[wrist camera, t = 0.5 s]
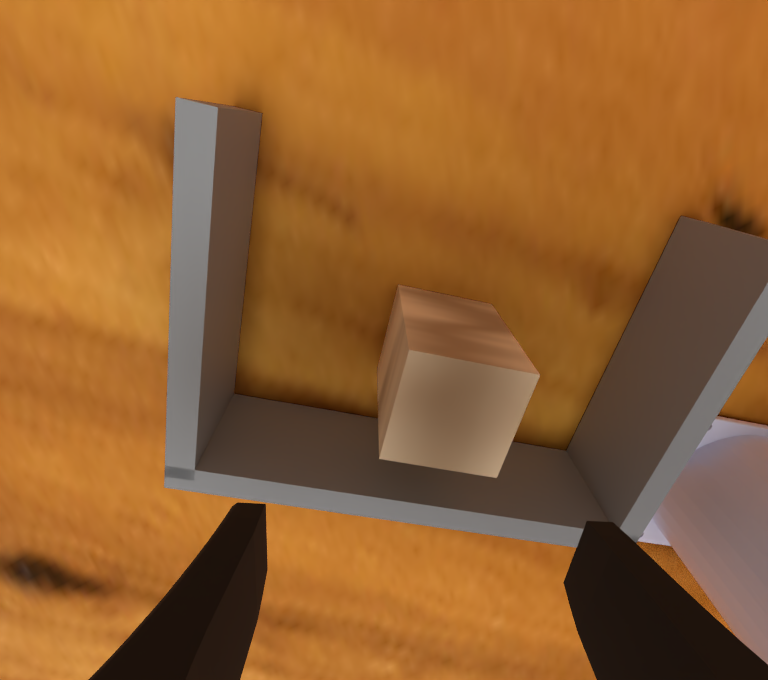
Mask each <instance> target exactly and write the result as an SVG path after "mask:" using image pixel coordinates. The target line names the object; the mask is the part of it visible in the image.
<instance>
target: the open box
mask: <svg viewBox="0 0 768 680" xmlns="http://www.w3.org/2000/svg"><path fill="white" fill-rule="evenodd" d="M261 122H262V113H259V112H255V111H251V110H247V109H243V108H239V107H234V106H229V105H223V104H216V103H210V102H204V101H197V100H191V99H185V98H178V97H176V104H175V139H174V173H173V208H172V242H171V276H170V311H169V345H168V380H167V414H166V449H165V483H164V487H165V488H171V489H178V490H185V491H192V492H199V493H206V494H213V495H219V496H226V497H233V498H240V499H247V500H254V501H261V502H268V503H274V504H281V505H288V506H295V507H302V508H309V509H316V510H322V511H329V512H336V513H343V514H350V515H357V516H364V517H371V518H377V519H384V520H391V521H398V522H405V523H412V524H419V525H425V526H432V527H439V528H446V529H453V530H460V531H467V532H474V533H480V534H487V535H494V536H501V537H508V538H515V539H522V540H528V541H535V542H542V543H549V544H556V545H563V546H570V547H577V546H578V543H579V540H580V538H581V535H582V532H583V530H584V527H585V524H586V522H587V521H602V522H613V523H615V524H616V525H617V526H618V527H619V528H620V529H621V530H622V531H623V532H624V533H626V534H627V535H628V536H629V537H630V538H631V539H632V540H633V541H634V542H635V543H637V541H638V540H639V538H640V536H641V535H642V533H643V532H644V530H645V529H646V527H647V525H648V524H649V522H650V521H651V519H652V517H653V516H654V514H655V513H656V511H657V510H658V508H659V506H660V505H661V503H662V502H663V500H664V499H665V497H666V495H667V494H668V492H669V491H670V489H671V488H672V486H673V484H674V483H675V481H676V480H677V478H678V477H679V475H680V473H681V472H682V470H683V469H684V467H685V466H686V464H687V462H688V461H689V459H690V458H691V456H692V455H693V453H694V451H695V450H696V448H697V447H698V445H699V444H700V442H701V440H702V439H703V437H704V436H705V434H706V433H707V431H708V429H709V428H710V426H711V425H712V423H713V421H714V420H715V418H716V417H717V415H718V414H719V412H720V410H721V409H722V407H723V406H724V404H725V403H726V401H727V399H728V398H729V396H730V395H731V393H732V392H733V390H734V388H735V387H736V385H737V384H738V382H739V381H740V379H741V377H742V376H743V374H744V373H745V371H746V370H747V368H748V366H749V365H750V363H751V362H752V360H753V359H754V357H755V355H756V354H757V352H758V351H759V349H760V348H761V346H762V344H763V343H764V341H765V340H766V338H767V337H768V239H765V238H761V237H758V236H754V235H751V234H747V233H743V232H740V231H736V230H733V229H729V228H726V227H722V226H718V225H715V224H711V223H708V222H704V221H700V220H696V219H692V218H688V217H684V216H681V217H680V219H679V221H678V223H677V225H676V227H675V229H674V231H673V233H672V235H671V237H670V239H669V241H668V243H667V245H666V247H665V249H664V251H663V254H662V256H661V258H660V260H659V262H658V264H657V266H656V268H655V270H654V272H653V274H652V276H651V278H650V280H649V282H648V284H647V286H646V288H645V290H644V292H643V294H642V297H641V299H640V301H639V303H638V305H637V307H636V309H635V311H634V313H633V315H632V317H631V319H630V321H629V323H628V325H627V327H626V329H625V331H624V333H623V335H622V338H621V340H620V342H619V344H618V346H617V348H616V350H615V352H614V354H613V356H612V358H611V360H610V362H609V364H608V366H607V368H606V370H605V372H604V374H603V376H602V378H601V381H600V383H599V385H598V387H597V389H596V391H595V393H594V395H593V397H592V399H591V401H590V403H589V405H588V407H587V409H586V411H585V413H584V415H583V417H582V419H581V422H580V424H579V426H578V428H577V430H576V432H575V434H574V436H573V438H572V440H571V442H570V444H569V446H568V448H567V450H566V451H564V450H559V449H553V448H547V447H541V446H535V445H530V444H524V443H518V442H512V443H511V445H510V448H509V450H508V453H507V455H506V457H505V460H504V462H503V464H502V467H501V469H500V472H499V474H498V476H497V478H494V477H488V476H481V475H475V474H469V473H463V472H457V471H451V470H444V469H438V468H432V467H426V466H420V465H414V464H407V463H401V462H395V461H389V460H383V459H379V434H378V418H373V417H367V416H361V415H355V414H349V413H343V412H338V411H332V410H326V409H320V408H314V407H309V406H303V405H297V404H291V403H285V402H279V401H274V400H268V399H262V398H256V397H250V396H245V395H239V394H234V389H235V379H236V369H237V359H238V349H239V340H240V330H241V320H242V310H243V300H244V290H245V280H246V270H247V260H248V250H249V241H250V231H251V221H252V211H253V201H254V191H255V181H256V171H257V161H258V151H259V142H260V132H261Z"/></svg>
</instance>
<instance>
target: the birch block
mask: <svg viewBox="0 0 768 680" xmlns="http://www.w3.org/2000/svg"><path fill="white" fill-rule="evenodd" d="M539 377H540V374H539V372H538V371H537V370H536V368H535V367H534V365H533V364H532V362H531V361H530V359H529V358H528V356H527V355H526V353H525V352H524V351H523V349H522V348H521V346H520V345H519V343H518V342H517V340H516V339H515V337H514V336H513V334H512V333H511V331H510V330H509V329H508V327H507V326H506V324H505V323H504V321H503V320H502V318H501V317H500V315H499V314H498V312H497V311H496V310H495V308H494V307H493V305H492V304H490V303H485V302H480V301H475V300H470V299H466V298H461V297H456V296H451V295H446V294H442V293H437V292H432V291H427V290H422V289H418V288H413V287H408V286H403V285H398V287H397V291H396V295H395V299H394V303H393V307H392V311H391V315H390V319H389V323H388V327H387V331H386V335H385V339H384V343H383V347H382V351H381V355H380V359H379V363H378V367H377V390H378V434H379V459H383V460H389V461H395V462H401V463H407V464H414V465H420V466H426V467H432V468H438V469H444V470H451V471H457V472H463V473H469V474H475V475H481V476H488V477H494V478H497V476H498V474H499V472H500V469H501V467H502V464H503V462H504V460H505V457H506V455H507V453H508V450H509V448H510V445H511V443H512V441H513V438H514V436H515V434H516V431H517V429H518V426H519V424H520V422H521V419H522V417H523V415H524V412H525V410H526V408H527V405H528V403H529V400H530V398H531V396H532V393H533V391H534V389H535V386H536V384H537V381H538V379H539Z"/></svg>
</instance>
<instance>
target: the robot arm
mask: <svg viewBox="0 0 768 680" xmlns="http://www.w3.org/2000/svg"><path fill="white" fill-rule="evenodd" d="M638 541H640V542H647V543H654V544H660V545H667V546H672V548H673V549H674V550H675V552H676V553H677V555H678V556H679V557H680V559H681V560H682V562H683V563H684V564H685V566H686V567H687V569H688V570H689V571H690V573H691V574H692V575H693V577H694V578H695V580H696V581H697V582H698V584H699V585H700V587H701V588H702V589H703V591H704V592H705V594H706V595H707V596H708V598H709V599H710V601H711V602H712V603H713V605H714V606H715V607H716V609H717V610H718V612H719V613H720V614H721V616H722V617H723V619H724V620H725V621H726V623H727V624H728V626H729V627H730V628H731V630H732V631H733V633H734V634H735V635H736V637H735V636H734V635H733V634H732V633H731V632H730V631H729V630H728V629H727V628H725V627H724V626H723V625H722V624H721V623H720V622H719V621H718V620H717V619H715V618H714V617H713V616H712V615H711V614H710V613H709V612H708V611H707V610H706V609H705V608H703V607H702V606H701V605H700V604H699V603H698V602H697V601H696V600H695V599H694V598H693V597H692V596H691V595H690V594H688V593H687V592H686V591H685V590H684V589H683V588H682V587H681V586H680V585H679V584H678V583H677V582H676V581H675V580H674V579H673V578H672V577H671V576H669V575H668V574H667V573H666V572H665V571H664V570H663V569H662V568H661V567H660V566H659V565H658V564H657V563H656V562H655V561H654V560H653V559H652V558H651V557H650V556H649V555H648V554H647V553H646V552H644V551H643V550H642V549H641V548H640V547H639V546H638V545H637V544H636V543H635V542H634V541H633V540H632V539H631V538H630V537H629V536H628V535H627V534H626V533H624V532H623V531H622V530H621V529H620V528H619V527H618V526H617V525H616V524H615V523H613V522H602V521H587V522H586V524H585V527H584V530H583V532H582V535H581V538H580V540H579V543H578V546H577V548H576V551H575V554H574V556H573V559H572V562H571V564H570V567H569V570H568V572H567V575H566V578H565V580H564V586H565V589H566V593H567V597H568V600H569V604H570V608H571V611H572V615H573V618H574V621H575V624H576V628H577V631H578V634H579V636H580V639H581V642H582V644H583V647H584V649H585V651H586V654H587V656H588V659H589V661H590V664H591V666H592V669H593V671H594V674H595V676H596V679H597V680H768V426H767V425H762V424H757V423H751V422H746V421H741V420H735V419H730V418H725V417H720V416H717V417H716V418H715V420H714V421H713V423H712V425H711V426H710V428H709V429H708V431H707V433H706V434H705V436H704V437H703V439H702V440H701V442H700V444H699V445H698V447H697V448H696V450H695V451H694V453H693V455H692V456H691V458H690V459H689V461H688V462H687V464H686V466H685V467H684V469H683V470H682V472H681V473H680V475H679V477H678V478H677V480H676V481H675V483H674V484H673V486H672V488H671V489H670V491H669V492H668V494H667V495H666V497H665V499H664V500H663V502H662V503H661V505H660V506H659V508H658V510H657V511H656V513H655V514H654V516H653V517H652V519H651V521H650V522H649V524H648V525H647V527H646V529H645V530H644V532H643V533H642V535H641V536H640V538H639V540H638ZM266 574H267V537H266V504H254V503H236V504H235V505H234V506H232V508H231V509H230V511H229V512H228V514H227V515H226V517H225V518H224V520H223V521H222V522H221V524H220V525H219V527H218V528H217V530H216V531H215V532H214V534H213V535H212V536H211V538H210V539H209V541H208V542H207V543H206V545H205V546H204V547H203V549H202V550H201V551H200V553H199V554H198V555H197V557H196V558H195V559H194V560H193V562H192V563H191V564H190V565H189V567H188V568H187V569H186V570H185V572H184V573H183V574H182V575H181V577H180V578H179V579H178V580H177V582H176V583H175V584H174V585H173V587H172V588H171V589H170V590H169V592H168V593H167V594H166V595H165V596H164V598H163V599H162V600H161V601H160V602H159V603H158V605H157V606H156V607H155V608H154V609H153V610H152V611H151V613H150V614H149V615H148V616H147V617H146V618H145V619H144V621H143V622H142V623H141V624H140V625H139V626H138V627H137V629H136V630H135V631H134V632H133V633H132V634H131V635H130V636H129V638H128V639H127V640H126V641H125V642H124V643H123V644H122V645H121V646H120V647H119V648H118V650H117V651H116V652H115V653H114V654H113V655H112V656H111V657H110V658H109V659H108V660H107V661H106V662H105V663H104V664H103V665H102V666H101V667H100V669H99V670H98V671H97V672H96V673H95V674H94V675H93V676H92V677H91V678H90V679H89V680H240V678H241V674H242V671H243V668H244V664H245V661H246V658H247V654H248V651H249V647H250V644H251V641H252V637H253V634H254V630H255V627H256V624H257V620H258V615H259V610H260V605H261V600H262V595H263V590H264V585H265V579H266Z"/></svg>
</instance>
